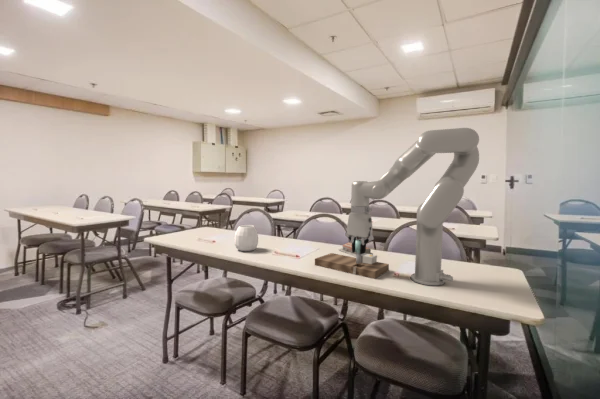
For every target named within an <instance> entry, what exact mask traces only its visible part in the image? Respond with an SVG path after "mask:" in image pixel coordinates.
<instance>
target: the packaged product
mask: <svg viewBox="0 0 600 399" xmlns="http://www.w3.org/2000/svg"><path fill="white" fill-rule="evenodd" d="M371 250H372V249H371V248H369V247H367V246H366V251H365V253H367V254H372V255H374V253H373V252H371ZM338 251H339V252H342V253H345V254H347V255H349V256H352V257H356V252H354V253H353V252H352V243H351V241H350V242H349V241H348V242H346V243H344V244H342V248H339V249H338Z"/></svg>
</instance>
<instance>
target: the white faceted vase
mask: <svg viewBox="0 0 600 399" xmlns="http://www.w3.org/2000/svg"><path fill="white" fill-rule="evenodd" d="M258 233H259V232H258V231H257V229H256V227H255V225H253V224H243V225H239V226H238V227H237V228H236V230H235V233H234V246H235V248H236V249H237V250H238V251H241V252H250V251H251V252H252V251H254V250H255V249H257V247H258V246H259V234H258Z"/></svg>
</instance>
